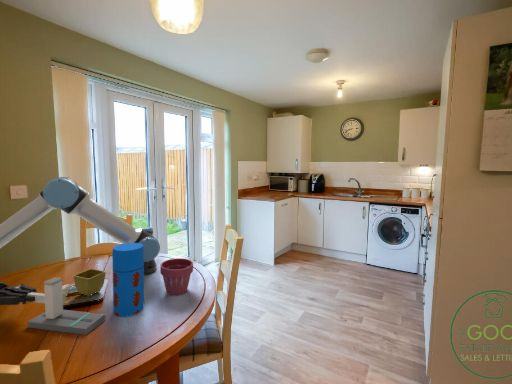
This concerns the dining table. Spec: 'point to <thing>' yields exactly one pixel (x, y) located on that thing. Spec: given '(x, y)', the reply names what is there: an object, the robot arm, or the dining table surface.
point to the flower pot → (89, 281)
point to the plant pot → (176, 275)
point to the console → (68, 322)
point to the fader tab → (53, 297)
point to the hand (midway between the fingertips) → (45, 298)
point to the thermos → (128, 279)
